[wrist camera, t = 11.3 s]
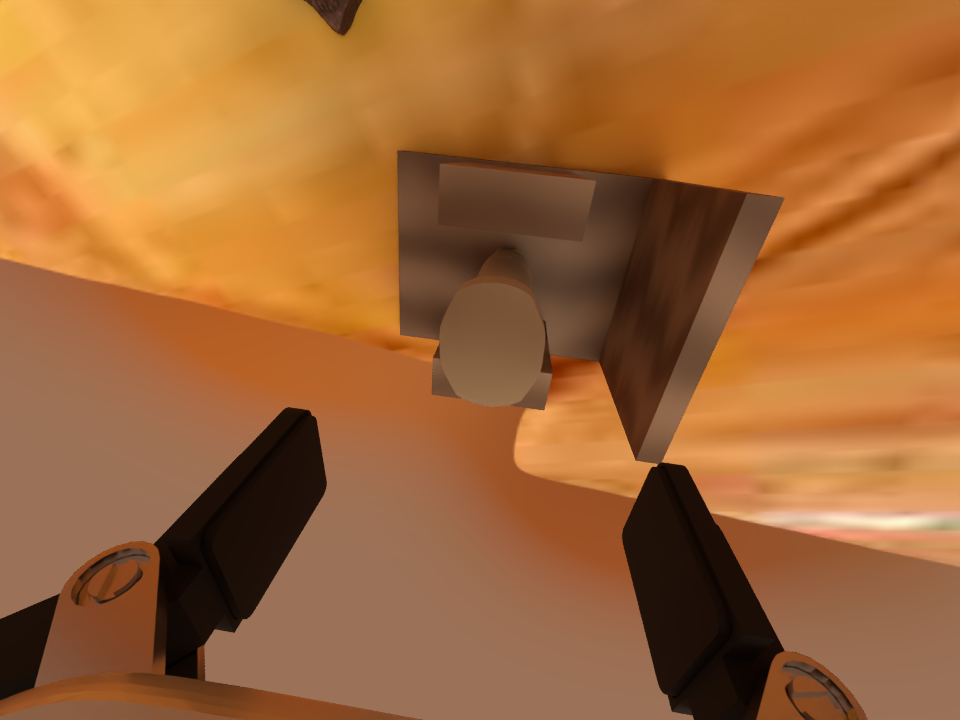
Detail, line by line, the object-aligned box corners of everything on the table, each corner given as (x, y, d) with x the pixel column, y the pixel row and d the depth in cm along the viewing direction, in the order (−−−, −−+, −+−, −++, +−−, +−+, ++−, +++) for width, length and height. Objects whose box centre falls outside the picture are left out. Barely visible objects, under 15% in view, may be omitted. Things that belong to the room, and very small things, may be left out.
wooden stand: (403, 150, 28) (310, 145, 16) (667, 179, 27) (784, 197, 15) (404, 328, 35) (342, 418, 23) (612, 355, 34) (660, 464, 22)
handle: (477, 300, 32) (440, 401, 19) (479, 222, 28) (438, 278, 15) (533, 304, 31) (535, 411, 18) (542, 226, 28) (553, 286, 15)
